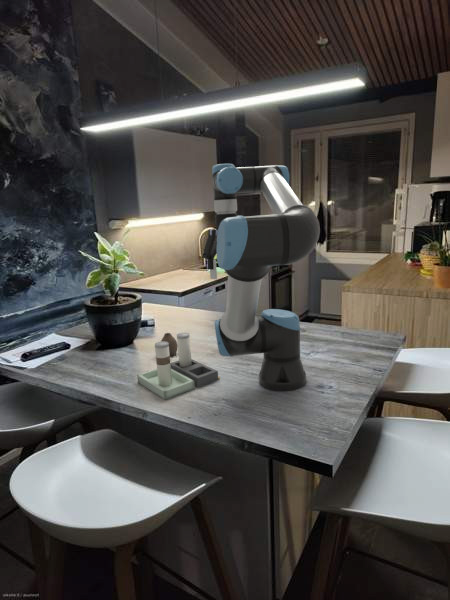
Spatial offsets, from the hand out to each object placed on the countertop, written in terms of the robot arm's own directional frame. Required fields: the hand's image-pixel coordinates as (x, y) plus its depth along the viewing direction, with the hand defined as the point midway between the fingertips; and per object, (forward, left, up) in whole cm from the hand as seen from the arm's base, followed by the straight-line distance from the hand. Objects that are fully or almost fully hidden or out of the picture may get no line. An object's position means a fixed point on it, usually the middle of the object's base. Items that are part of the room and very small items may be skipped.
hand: (229, 275), depth 140 cm
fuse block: (+3, +16, -33) cm, 37 cm away
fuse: (+8, +16, -33) cm, 37 cm away
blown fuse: (+3, +27, -32) cm, 42 cm away
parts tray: (+3, +27, -33) cm, 43 cm away
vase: (+27, +11, -33) cm, 44 cm away
